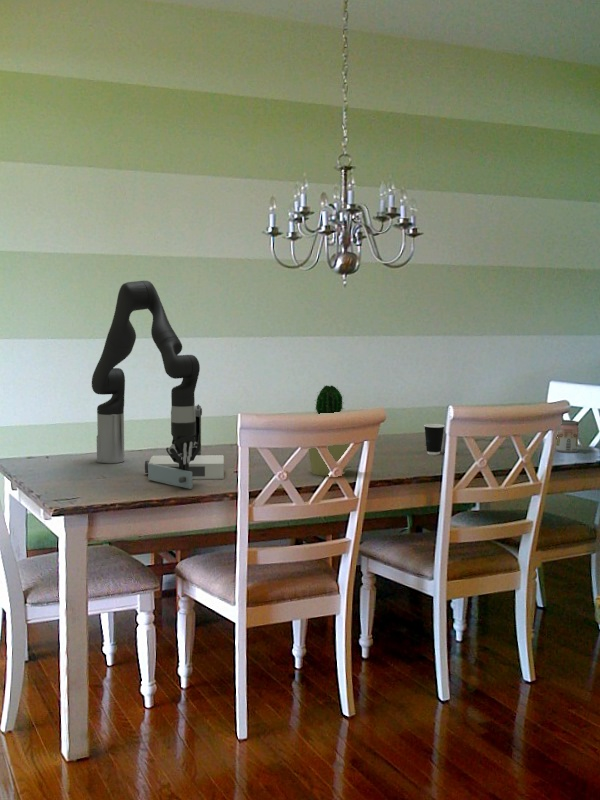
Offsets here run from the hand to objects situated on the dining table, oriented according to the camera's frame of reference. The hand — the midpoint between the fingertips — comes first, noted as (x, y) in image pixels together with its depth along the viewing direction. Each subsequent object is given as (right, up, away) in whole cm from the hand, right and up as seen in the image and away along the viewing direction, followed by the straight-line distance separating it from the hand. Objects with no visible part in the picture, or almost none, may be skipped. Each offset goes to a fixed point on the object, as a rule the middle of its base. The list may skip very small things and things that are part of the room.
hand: (184, 475), depth 268 cm
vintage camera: (-5, +1, +44) cm, 44 cm away
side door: (-5, -3, +1) cm, 6 cm away
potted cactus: (+45, -1, +23) cm, 51 cm away
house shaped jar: (+140, +3, +72) cm, 158 cm away
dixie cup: (+87, +3, +64) cm, 108 cm away
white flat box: (-1, -1, +18) cm, 18 cm away
